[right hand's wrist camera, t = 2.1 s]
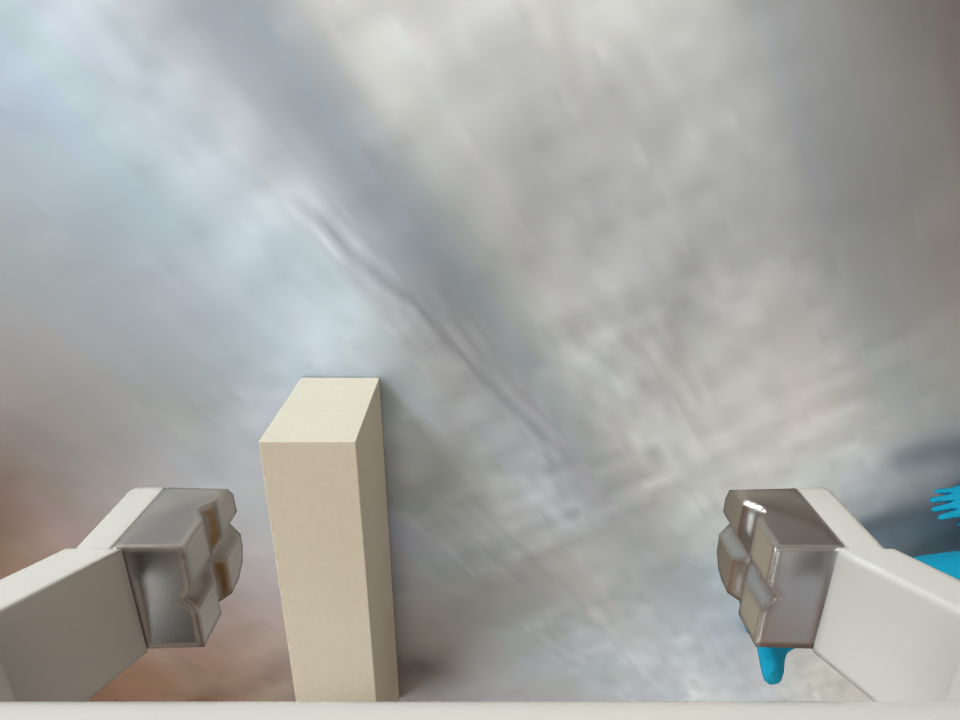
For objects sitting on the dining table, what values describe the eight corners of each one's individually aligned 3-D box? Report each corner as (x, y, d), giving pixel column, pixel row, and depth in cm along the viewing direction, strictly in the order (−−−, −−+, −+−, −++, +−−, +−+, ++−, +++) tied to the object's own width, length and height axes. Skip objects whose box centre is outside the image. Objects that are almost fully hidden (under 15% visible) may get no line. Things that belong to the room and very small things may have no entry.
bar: (301, 377, 40) (258, 441, 32) (379, 377, 40) (355, 441, 32) (337, 698, 50) (311, 806, 43) (399, 698, 50) (384, 806, 43)
